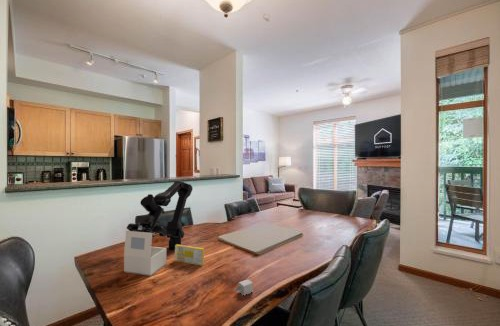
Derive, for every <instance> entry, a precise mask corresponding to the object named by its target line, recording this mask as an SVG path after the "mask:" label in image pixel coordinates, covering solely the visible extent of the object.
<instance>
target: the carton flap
mask: <svg viewBox="0 0 500 326" xmlns="http://www.w3.org/2000/svg"><path fill="white" fill-rule="evenodd" d="M152 241H153V237H152V233H146V232H136V231H129V230H125V239H124V248H123V249H124V250H123V256H124V255H125V256H133V257H141V258H149V259H150V258H151V246H152Z"/></svg>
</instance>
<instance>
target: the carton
mask: <svg viewBox="0 0 500 326" xmlns="http://www.w3.org/2000/svg"><path fill="white" fill-rule="evenodd" d="M123 264H124V265H123V272H124V273H127V274H135V275H141V276H142V275H143V276H148V277H151V276H153V275H154V274H156V272H158V271H159V270H160V269H162V268H164V267H165V266H166V265H167V248H166V247H161V246H160V247H158V246H152V245H151V258H150V259H149V258H141V257H133V256H125V255H124V254H123Z"/></svg>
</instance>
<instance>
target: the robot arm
mask: <svg viewBox="0 0 500 326" xmlns="http://www.w3.org/2000/svg"><path fill="white" fill-rule="evenodd" d="M192 192H193V186H192V184H189V183H186V182H184V181H183V180H181V181H180V180H174V182H173V184H172V185H170V186H169V187H168V188H167V189H166V190H165V191H163V192H159V193H157V194H156V195H155V196H154V195H153V194H151V193H148V195H146V196H144V197H143V198H142V199H140V205H141V206H142V208H144V209H145V211H146V212H148V213H147V215H136V219H135V221H134V222H135V223H128V224H127V227H126V230H127V231H136V232H146V233H152V238H154V237H155V234H158V235H159V237H166V238H168V249H169V250H170V251H171V250H172V251H173V250H174V251H175V245H177V244H178V245H182V239H183V238H184V237H185V232H184V230H183V224H182V217H183V215H184V210H185V206H186V202H187V200H188V198H189V197H190V196H191V194H192ZM176 194H178V195H177V196H178V198H177V202H176V205H175V208H174V209H175V210H174V212H173V215H172V219H171V220H170V221H168V222H167V224H166V227H164V226H162V225H157V224H159V223H160V221H159V220H160V218H161V216H162V214H165V209H164V207H167V206H168V205H169V204H170V203H171V199H172V197H173V196H174V195H176ZM138 224H139V225H138Z"/></svg>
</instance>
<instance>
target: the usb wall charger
mask: <svg viewBox="0 0 500 326" xmlns="http://www.w3.org/2000/svg"><path fill="white" fill-rule="evenodd" d="M233 291H236V293H237V294H240V293H241V294H240V295H241V296H243V295H244V296H246V294H247V295H249V294H252V293H253V292H254V283H253V281H251V280H250V279H248V278H247V279H245V280H242V281H240V282H238V286H237V287H236V288H234V289H233ZM251 292H252V293H251Z"/></svg>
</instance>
